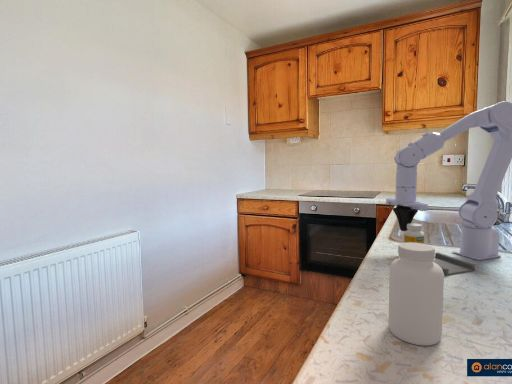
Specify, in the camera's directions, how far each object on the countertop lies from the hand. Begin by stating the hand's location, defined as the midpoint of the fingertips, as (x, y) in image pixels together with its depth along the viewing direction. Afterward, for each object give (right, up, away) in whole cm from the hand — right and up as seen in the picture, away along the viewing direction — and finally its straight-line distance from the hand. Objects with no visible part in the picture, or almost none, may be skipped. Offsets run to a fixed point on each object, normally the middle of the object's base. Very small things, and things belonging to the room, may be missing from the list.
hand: (404, 230), depth 93 cm
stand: (+4, -8, -12) cm, 15 cm away
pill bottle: (-20, -12, -43) cm, 49 cm away
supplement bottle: (+1, -7, -3) cm, 8 cm away
